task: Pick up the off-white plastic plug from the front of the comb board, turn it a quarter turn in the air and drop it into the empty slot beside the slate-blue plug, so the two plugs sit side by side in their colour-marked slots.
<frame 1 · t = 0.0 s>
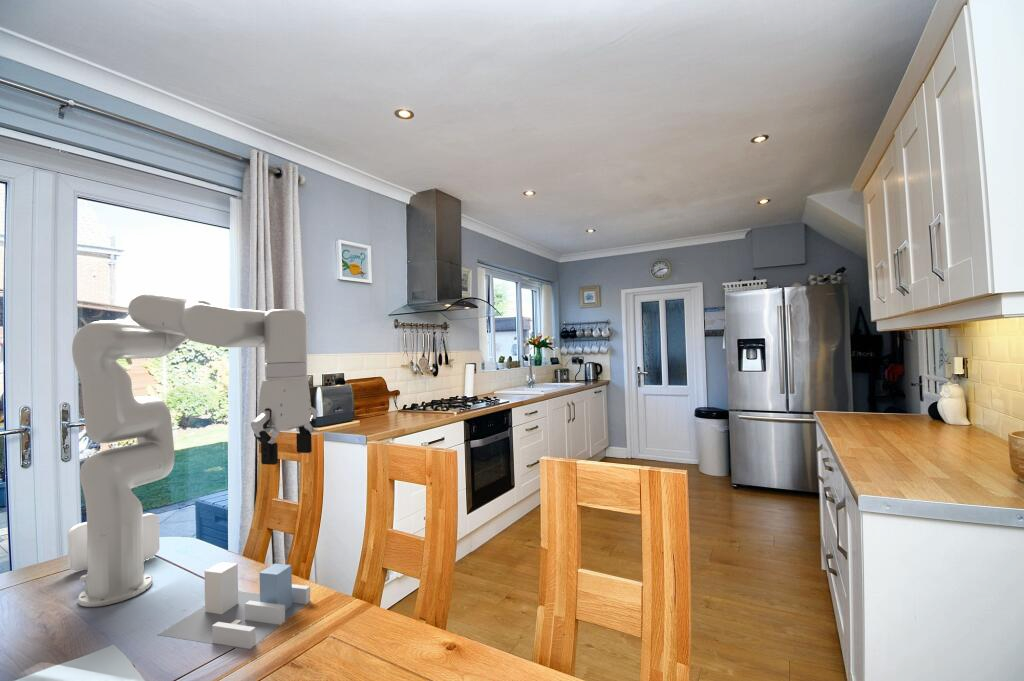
hand: (287, 458, 94), 31 cm above the table, tool pointing down, fingers open, 9 cm apart
blue plug: (276, 609, 94), point 1 cm above the table, touching comb board
comb board: (238, 624, 91), on the table
off-white plug: (221, 607, 95), point 1 cm above the table, touching comb board
cable organizer: (115, 565, 119), on the table
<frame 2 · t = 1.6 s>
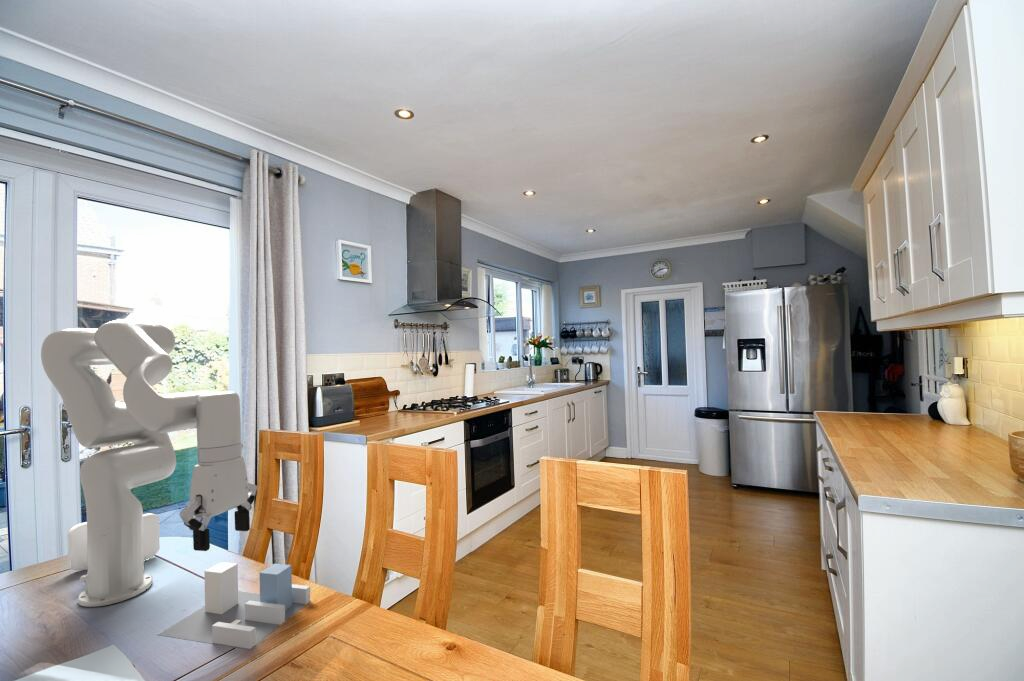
hand: (223, 539, 95), 15 cm above the table, tool pointing down, fingers open, 9 cm apart
nothing on the table moved.
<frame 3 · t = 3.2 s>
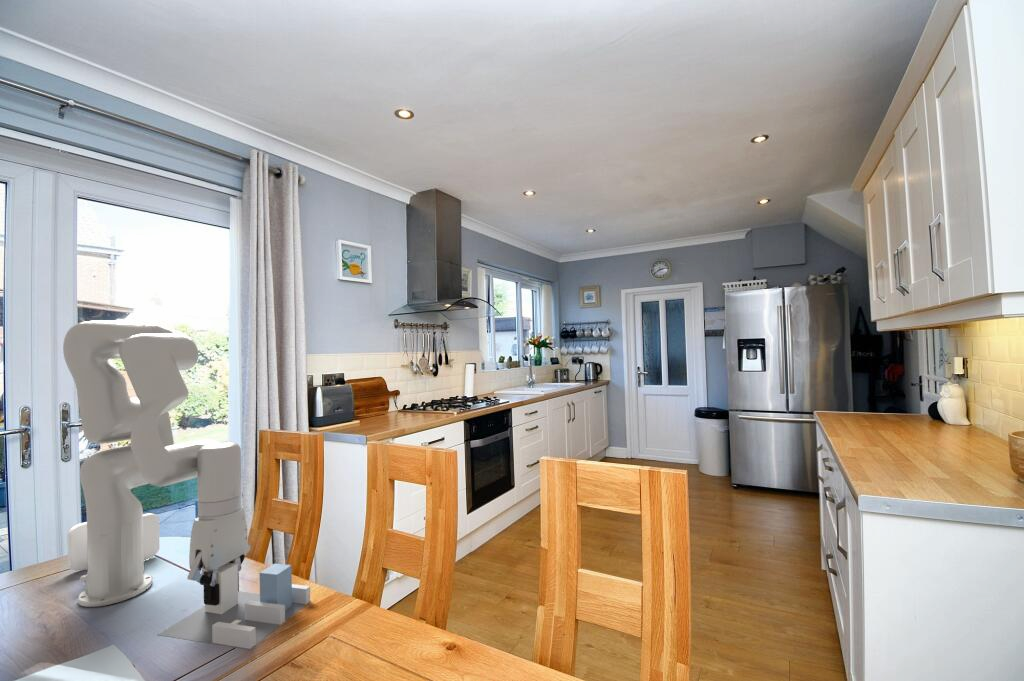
hand: (221, 596, 95), 4 cm above the table, tool pointing down, fingers closed on off-white plug, 4 cm apart
off-white plug: (221, 607, 95), point 2 cm above the table, touching comb board, gripper
everything else where it was.
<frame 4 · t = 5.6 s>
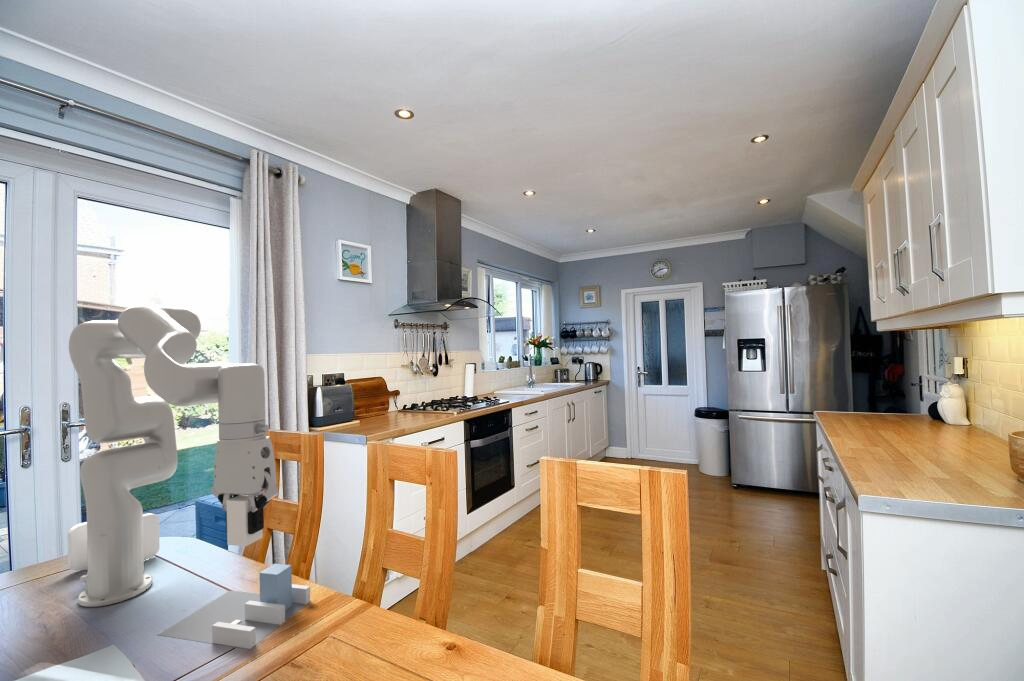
hand: (245, 529, 87), 20 cm above the table, tool pointing down, fingers closed on off-white plug, 4 cm apart
off-white plug: (245, 541, 87), point 18 cm above the table, touching gripper
everything else where it was.
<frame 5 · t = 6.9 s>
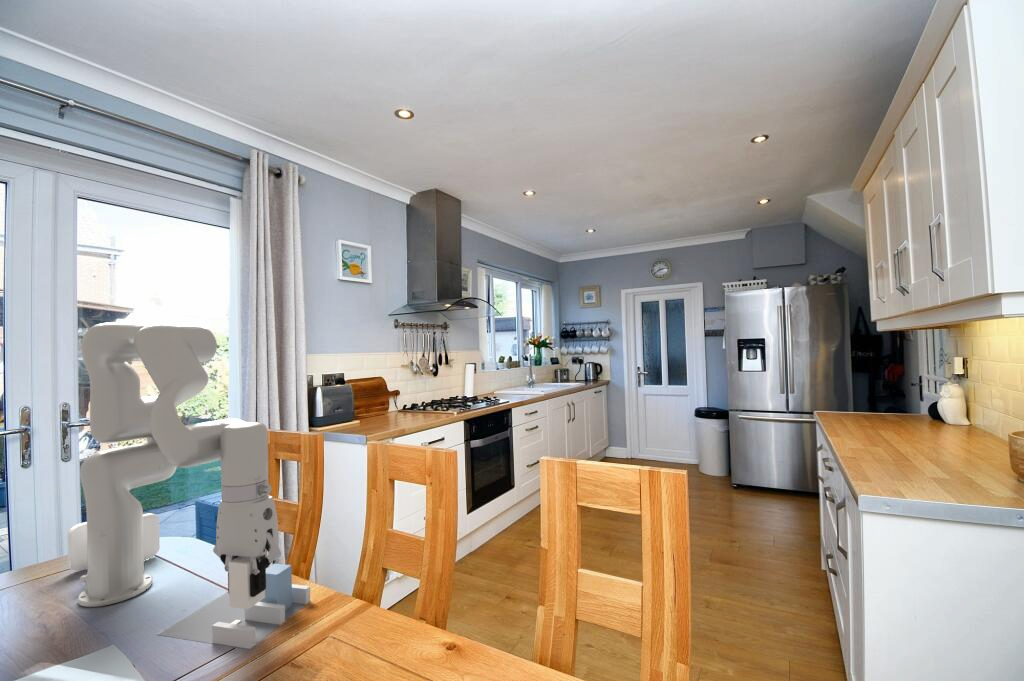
hand: (247, 590, 87), 9 cm above the table, tool pointing down, fingers closed on off-white plug, 4 cm apart
off-white plug: (247, 602, 87), point 7 cm above the table, touching gripper
everything else where it was.
when the fingers open (5 cm above the table, at t = 7.9 s): off-white plug drops 1 cm, resting on comb board.
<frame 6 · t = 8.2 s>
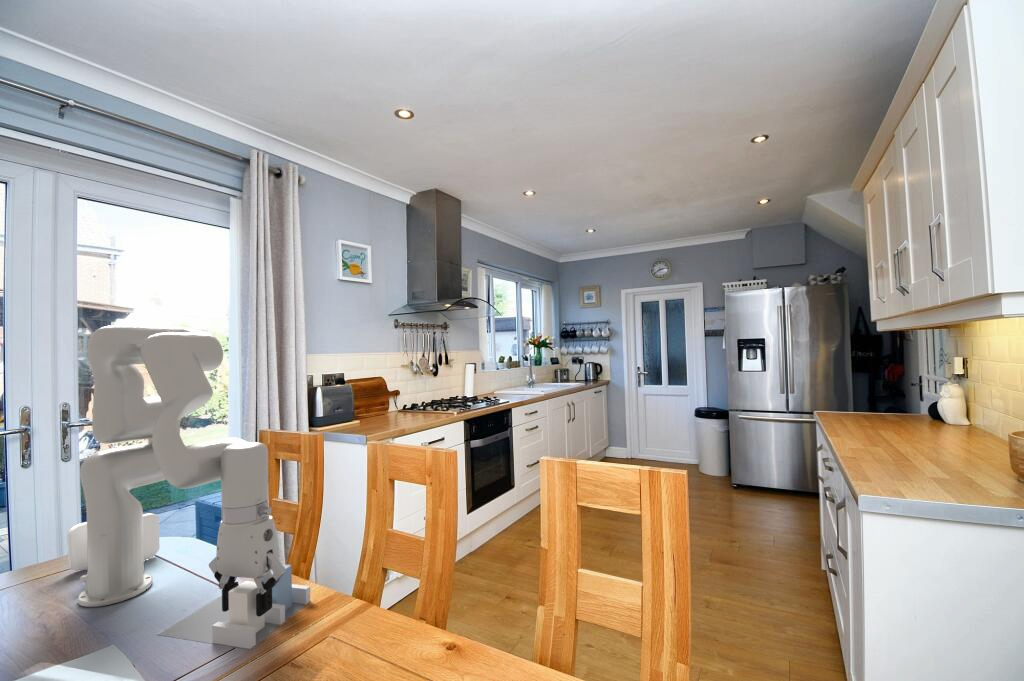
hand: (247, 609, 87), 5 cm above the table, tool pointing down, fingers open, 6 cm apart
off-white plug: (247, 631, 87), point 1 cm above the table, touching comb board
everything else where it was.
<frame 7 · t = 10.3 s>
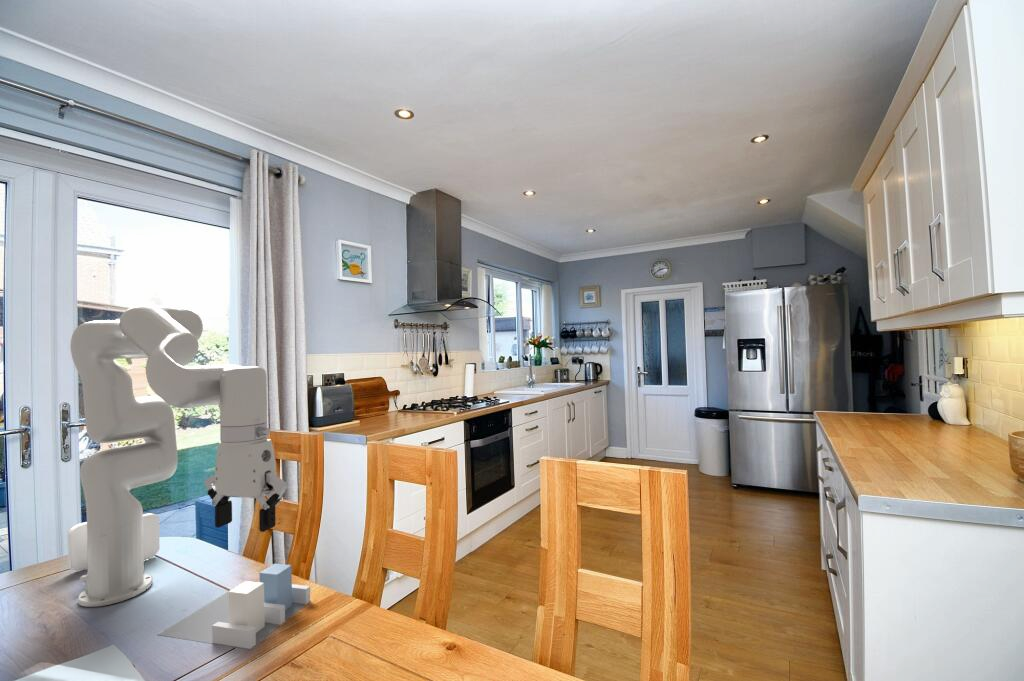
hand: (245, 526, 87), 20 cm above the table, tool pointing down, fingers open, 9 cm apart
nothing on the table moved.
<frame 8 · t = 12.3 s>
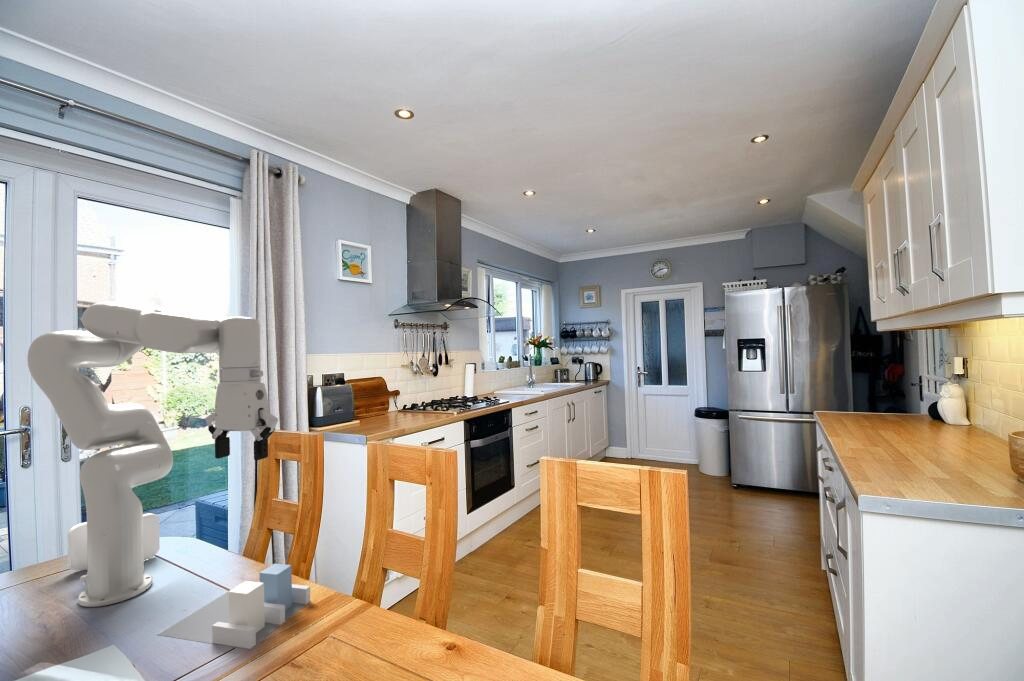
hand: (241, 457, 99), 30 cm above the table, tool pointing down, fingers open, 9 cm apart
nothing on the table moved.
at the end: off-white plug 0.6 cm from the target spot, point 1.5 cm above the table; off-white plug tilted 0°; blue plug moved 0.0 cm from its start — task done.
